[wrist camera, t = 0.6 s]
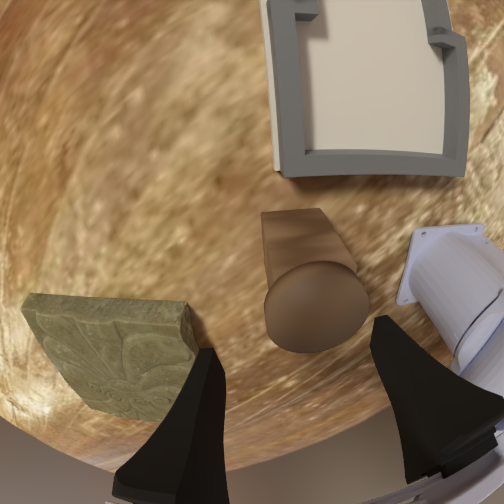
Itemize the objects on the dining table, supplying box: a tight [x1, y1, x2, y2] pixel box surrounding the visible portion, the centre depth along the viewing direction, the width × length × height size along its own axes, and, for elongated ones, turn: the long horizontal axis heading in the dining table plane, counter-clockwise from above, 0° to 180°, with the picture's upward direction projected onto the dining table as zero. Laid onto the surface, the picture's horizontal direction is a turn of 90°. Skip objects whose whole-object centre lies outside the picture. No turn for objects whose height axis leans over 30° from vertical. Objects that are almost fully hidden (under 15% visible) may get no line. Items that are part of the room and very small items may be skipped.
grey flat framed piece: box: [259, 0, 470, 178], centre depth 10 cm, size 14×22×2 cm, turn 5°
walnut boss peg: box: [261, 208, 370, 353], centre depth 16 cm, size 5×5×8 cm
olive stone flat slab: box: [20, 293, 199, 422], centre depth 26 cm, size 19×20×4 cm
